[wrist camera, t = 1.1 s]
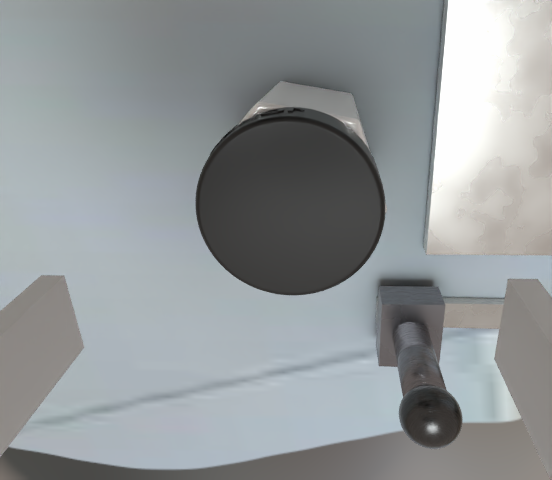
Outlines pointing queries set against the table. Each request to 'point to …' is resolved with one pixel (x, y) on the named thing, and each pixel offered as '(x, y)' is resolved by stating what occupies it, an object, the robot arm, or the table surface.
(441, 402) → the lever
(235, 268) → the jar
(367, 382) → the table surface
